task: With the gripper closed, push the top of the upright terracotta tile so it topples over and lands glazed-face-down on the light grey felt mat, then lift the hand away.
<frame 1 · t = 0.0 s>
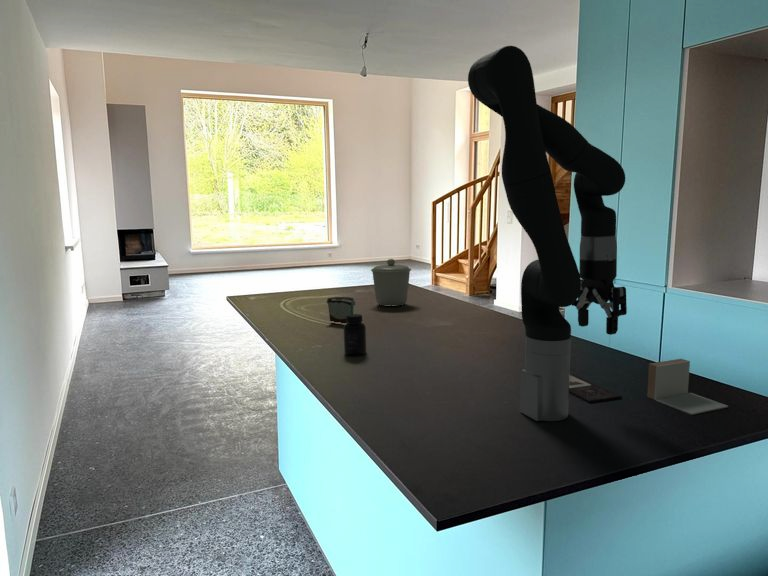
hand: (597, 329, 121), 17 cm above the table, tool pointing down, fingers open, 8 cm apart
supplement bottle: (355, 354, 170), on the table
tile: (667, 395, 129), on the table
canister 2: (391, 305, 250), on the table
mat: (691, 403, 123), on the table
chocolate bar: (580, 391, 135), on the table
food container: (344, 324, 213), on the table
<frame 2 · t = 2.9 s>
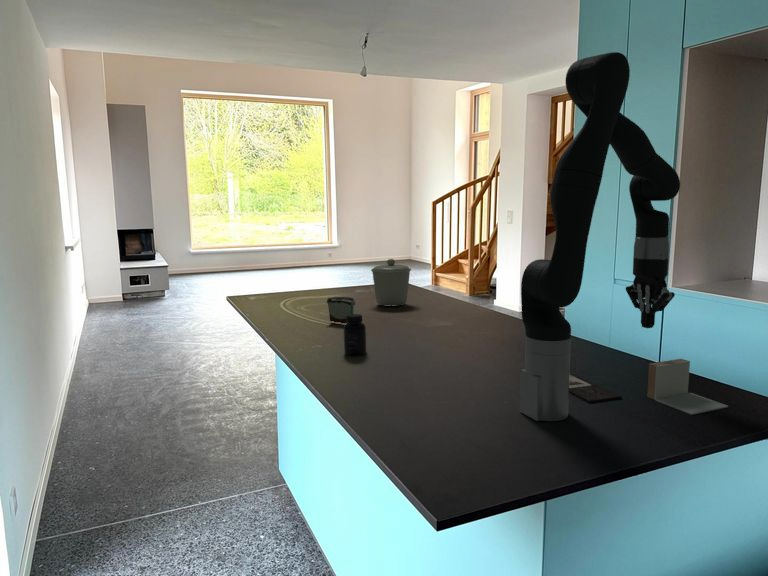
hand: (647, 327, 133), 15 cm above the table, tool pointing down, fingers closed
nothing on the table moved.
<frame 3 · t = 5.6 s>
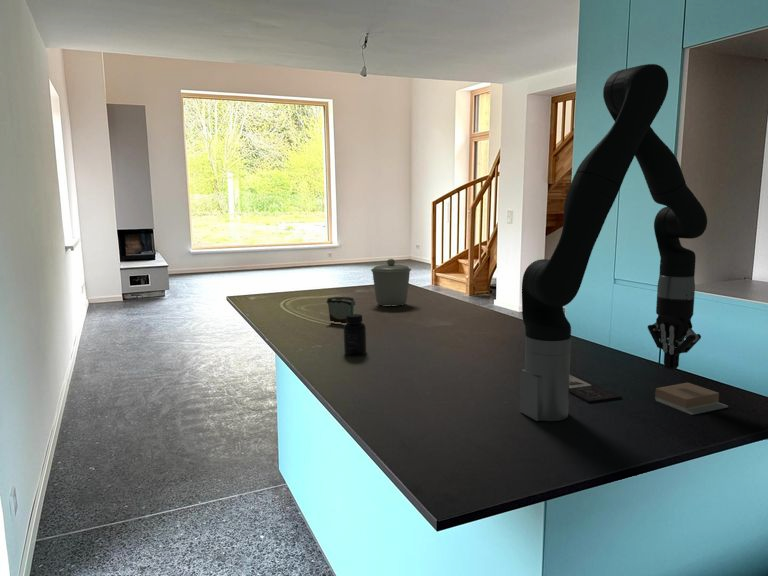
hand: (670, 368, 128), 7 cm above the table, tool pointing down, fingers closed
tile: (671, 390, 128), point 1 cm above the table, tilted 90°, touching mat
everything else where it was.
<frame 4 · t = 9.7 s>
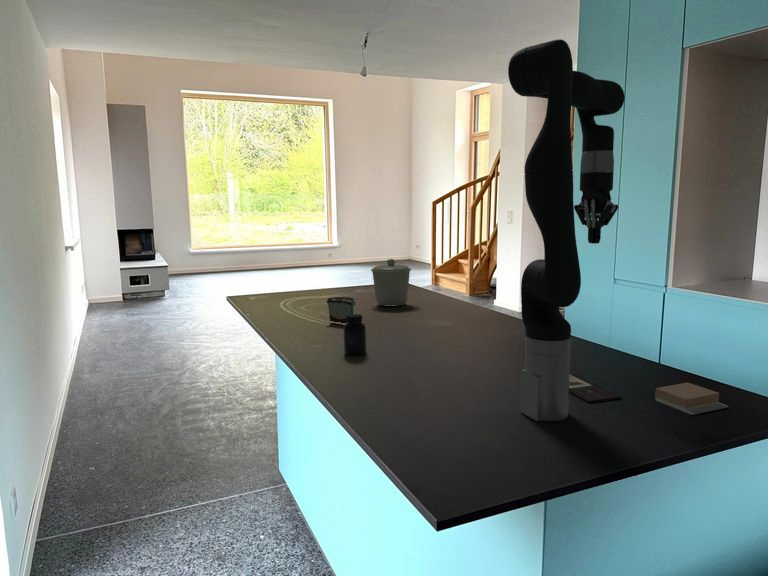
hand: (593, 243, 135), 35 cm above the table, tool pointing down, fingers closed
nothing on the table moved.
at the end: tile tilted 90°; tile inside the target area (2.5 cm from its centre), point 1.5 cm above the table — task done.
